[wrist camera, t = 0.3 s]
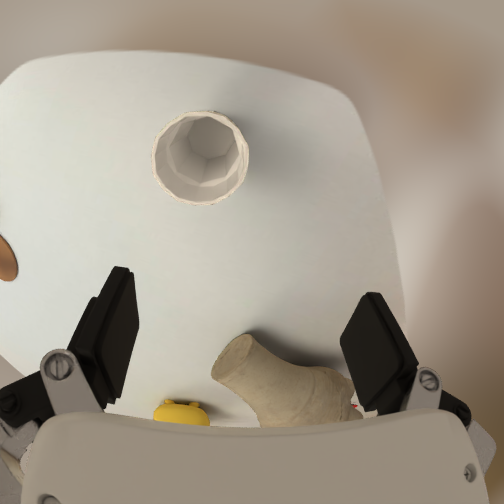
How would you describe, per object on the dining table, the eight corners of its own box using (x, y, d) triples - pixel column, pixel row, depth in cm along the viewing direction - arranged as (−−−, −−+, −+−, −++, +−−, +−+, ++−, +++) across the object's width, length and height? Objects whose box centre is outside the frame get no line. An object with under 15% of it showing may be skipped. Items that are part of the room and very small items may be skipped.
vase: (144, 412, 33) (274, 481, 38) (250, 382, 22) (383, 464, 28) (197, 318, 51) (292, 394, 57) (285, 257, 41) (379, 360, 46)
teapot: (141, 404, 56) (134, 446, 46) (177, 389, 52) (172, 439, 42) (184, 423, 62) (182, 463, 52) (224, 411, 58) (224, 455, 48)
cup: (217, 92, 24) (208, 90, 15) (256, 141, 27) (268, 168, 18) (167, 132, 26) (132, 155, 17) (206, 177, 29) (193, 222, 20)
